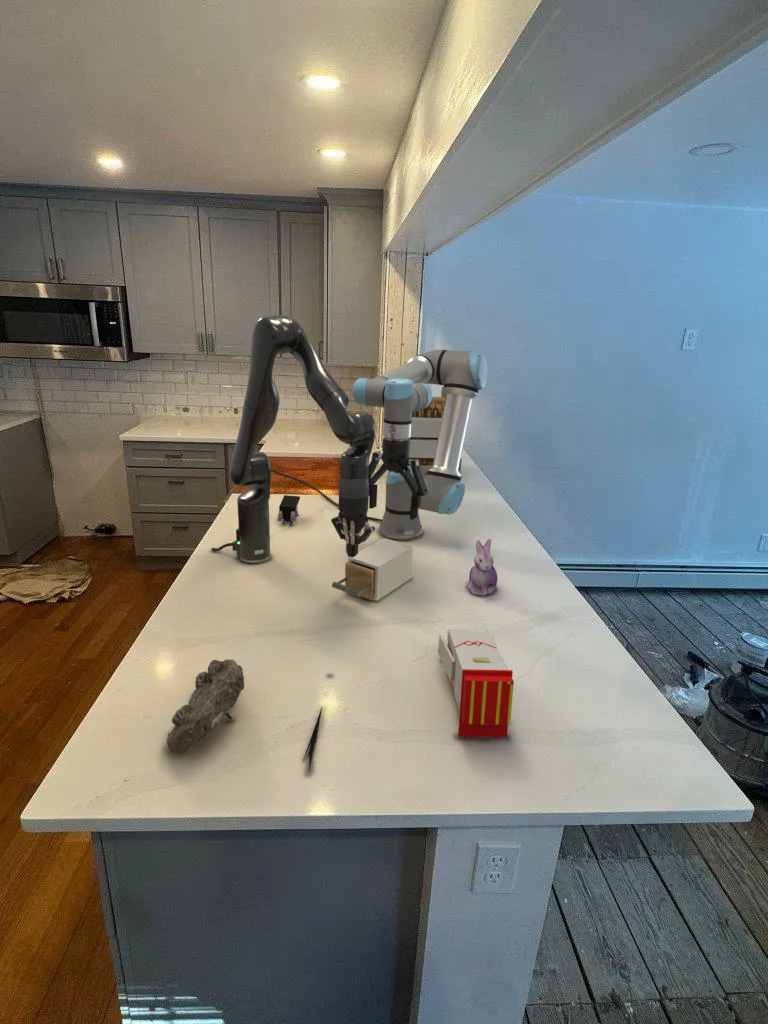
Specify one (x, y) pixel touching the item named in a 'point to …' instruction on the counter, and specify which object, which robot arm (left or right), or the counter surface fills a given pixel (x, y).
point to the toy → (478, 682)
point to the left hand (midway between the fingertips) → (352, 556)
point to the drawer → (357, 580)
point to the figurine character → (288, 509)
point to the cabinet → (386, 564)
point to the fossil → (206, 705)
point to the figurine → (483, 571)
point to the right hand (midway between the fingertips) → (392, 512)
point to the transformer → (427, 431)
